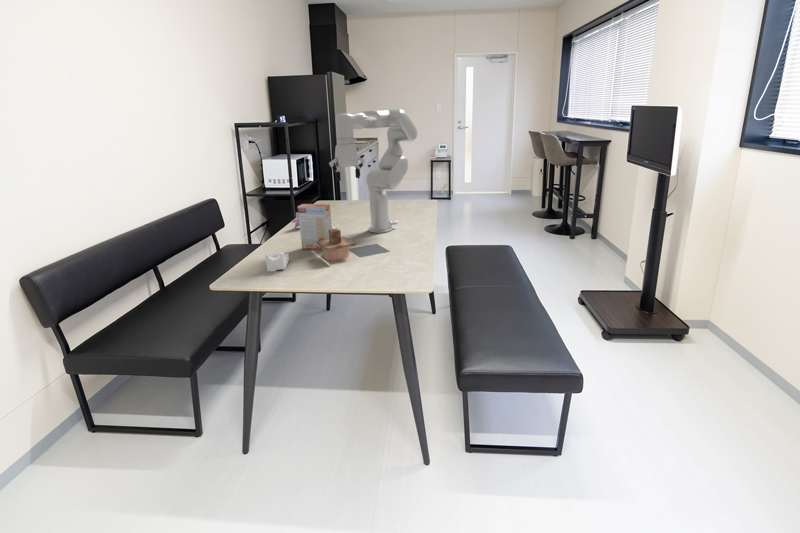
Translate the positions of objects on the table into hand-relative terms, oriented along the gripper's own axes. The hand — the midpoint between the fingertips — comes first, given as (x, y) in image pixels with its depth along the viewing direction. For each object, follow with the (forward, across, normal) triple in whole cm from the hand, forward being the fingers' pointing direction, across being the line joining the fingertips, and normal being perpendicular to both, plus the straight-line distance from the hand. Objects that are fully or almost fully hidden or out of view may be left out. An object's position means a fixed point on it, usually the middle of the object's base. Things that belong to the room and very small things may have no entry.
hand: (348, 179), depth 221 cm
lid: (+24, +16, +21) cm, 36 cm away
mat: (+30, +1, +21) cm, 37 cm away
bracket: (+31, +41, +18) cm, 55 cm away
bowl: (+30, +16, +21) cm, 40 cm away
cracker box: (+31, +19, +3) cm, 36 cm away
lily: (+31, +13, -39) cm, 51 cm away
